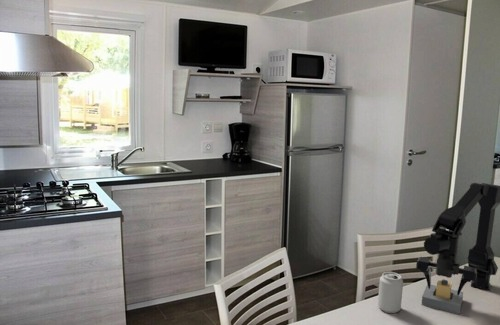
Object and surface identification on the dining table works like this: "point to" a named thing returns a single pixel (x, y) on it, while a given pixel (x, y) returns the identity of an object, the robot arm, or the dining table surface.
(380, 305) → the can
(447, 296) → the plug
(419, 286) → the dining table surface
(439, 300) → the socket
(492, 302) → the dining table surface
